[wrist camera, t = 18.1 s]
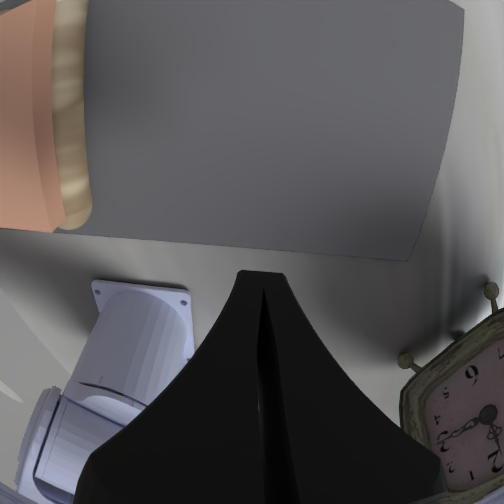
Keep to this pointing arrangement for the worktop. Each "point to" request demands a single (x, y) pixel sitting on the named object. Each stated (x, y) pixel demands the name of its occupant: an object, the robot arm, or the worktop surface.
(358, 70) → the mat
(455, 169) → the worktop surface
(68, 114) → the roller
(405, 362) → the tabletop clock
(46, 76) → the slab
